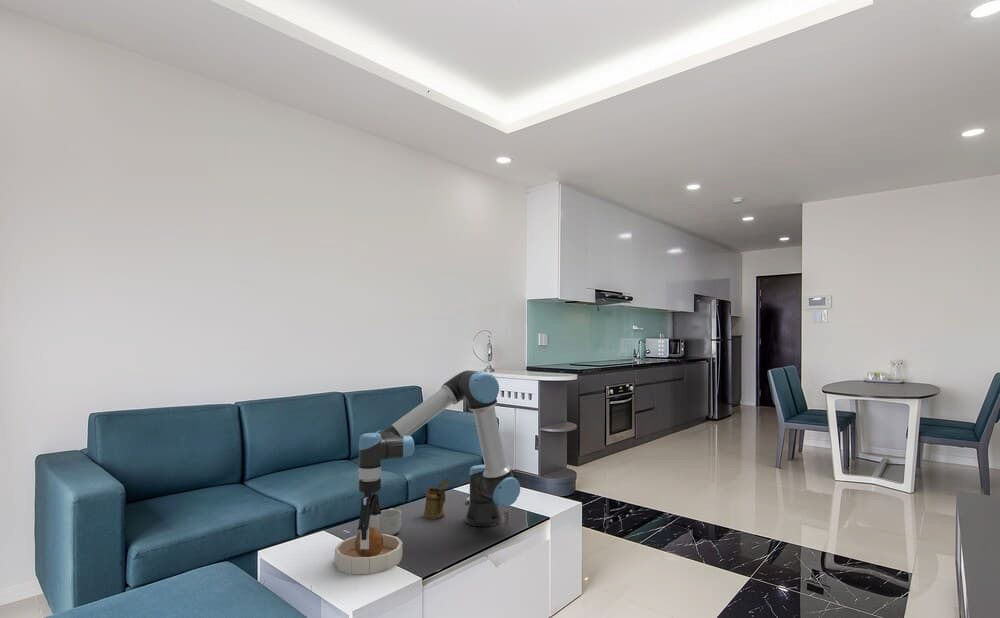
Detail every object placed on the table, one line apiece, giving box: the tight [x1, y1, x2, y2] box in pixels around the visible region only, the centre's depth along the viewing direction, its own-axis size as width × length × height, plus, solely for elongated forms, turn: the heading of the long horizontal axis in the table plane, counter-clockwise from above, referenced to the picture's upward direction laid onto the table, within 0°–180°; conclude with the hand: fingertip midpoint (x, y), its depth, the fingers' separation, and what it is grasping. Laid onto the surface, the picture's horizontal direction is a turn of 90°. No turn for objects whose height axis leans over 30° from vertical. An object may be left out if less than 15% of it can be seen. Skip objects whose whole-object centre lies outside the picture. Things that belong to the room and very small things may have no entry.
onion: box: [355, 526, 383, 557], centre depth 183 cm, size 10×10×10 cm
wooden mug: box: [422, 476, 451, 520], centre depth 228 cm, size 9×14×18 cm, turn 49°
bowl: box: [334, 534, 403, 575], centre depth 183 cm, size 22×22×5 cm
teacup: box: [378, 507, 402, 536], centre depth 210 cm, size 14×11×8 cm
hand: (369, 541), depth 184 cm, fingers open, 13 cm apart
